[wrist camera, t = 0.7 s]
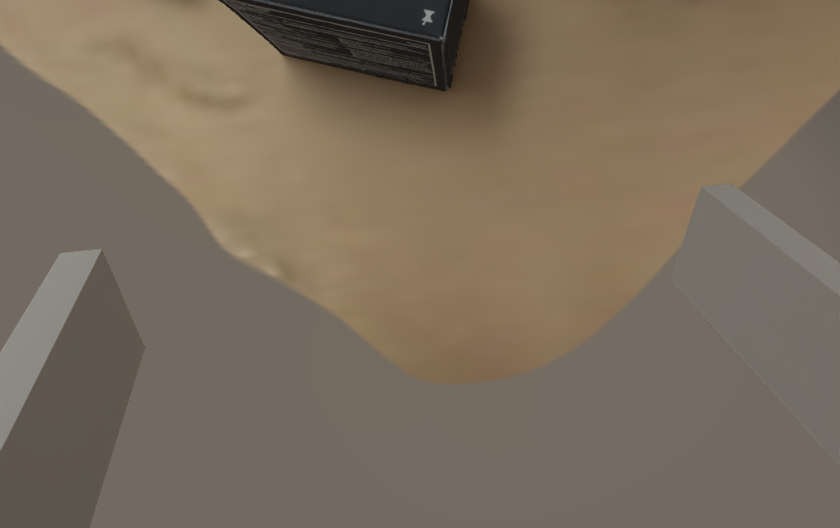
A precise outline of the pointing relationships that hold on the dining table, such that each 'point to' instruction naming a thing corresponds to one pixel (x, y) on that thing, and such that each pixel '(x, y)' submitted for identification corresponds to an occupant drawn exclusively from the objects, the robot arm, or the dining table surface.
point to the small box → (365, 34)
